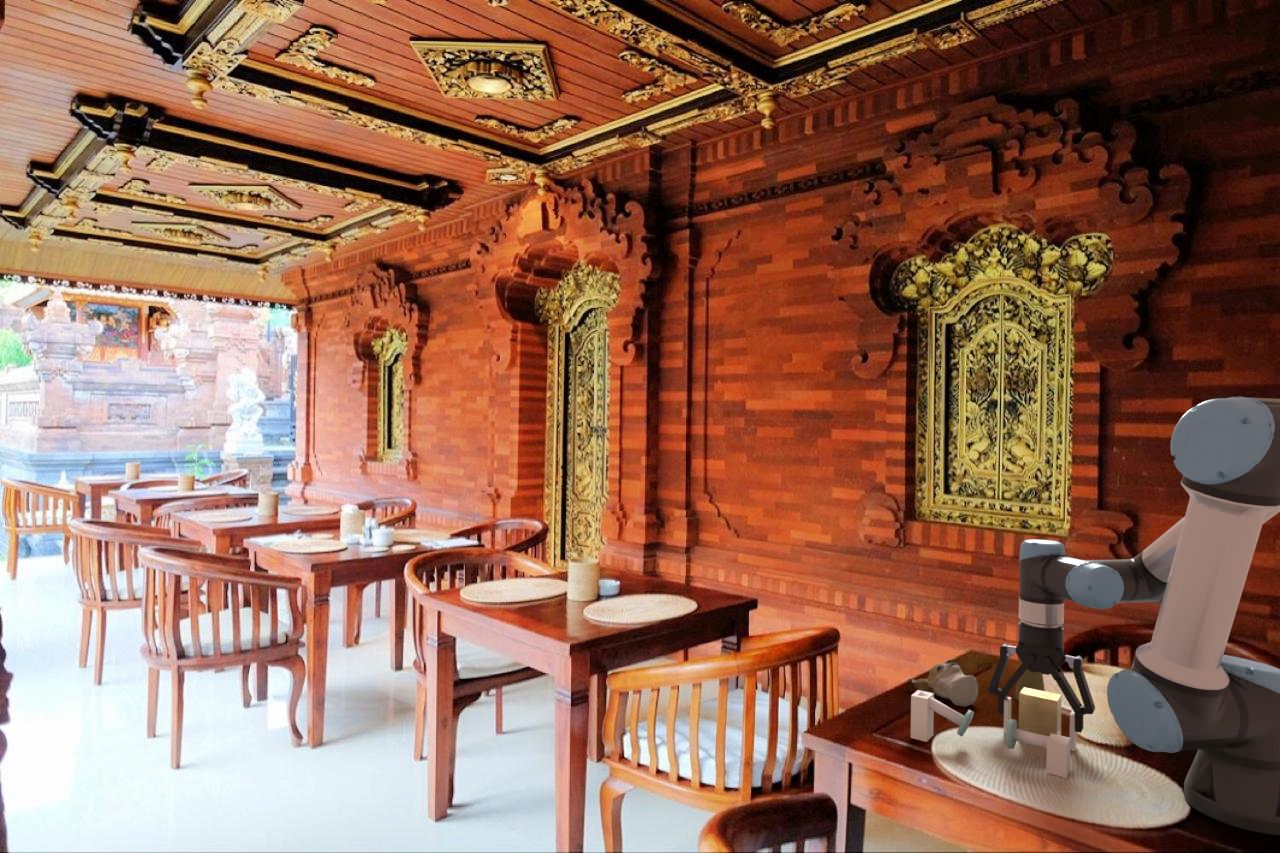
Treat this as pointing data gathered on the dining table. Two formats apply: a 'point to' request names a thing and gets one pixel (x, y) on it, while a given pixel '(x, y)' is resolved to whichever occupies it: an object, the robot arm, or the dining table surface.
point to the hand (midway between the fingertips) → (1039, 740)
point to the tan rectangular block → (1039, 712)
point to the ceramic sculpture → (949, 684)
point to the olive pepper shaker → (1029, 681)
